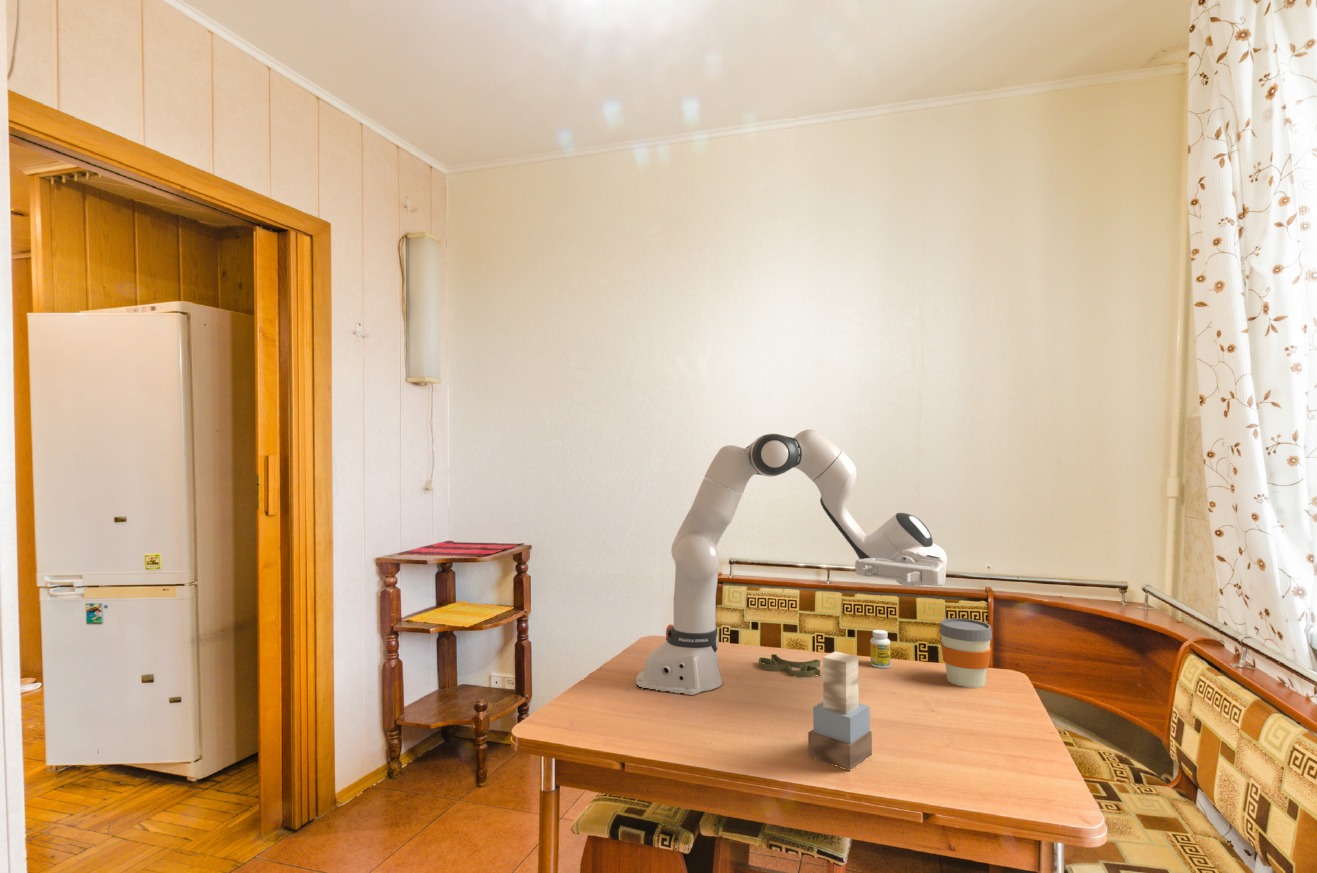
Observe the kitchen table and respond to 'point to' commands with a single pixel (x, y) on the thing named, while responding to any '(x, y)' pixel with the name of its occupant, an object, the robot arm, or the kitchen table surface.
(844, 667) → the cream pillar block
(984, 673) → the reusable coffee cup
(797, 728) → the kitchen table surface
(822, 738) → the walnut base block
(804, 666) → the cookie cutter
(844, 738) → the slate-blue top block
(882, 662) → the supplement bottle
